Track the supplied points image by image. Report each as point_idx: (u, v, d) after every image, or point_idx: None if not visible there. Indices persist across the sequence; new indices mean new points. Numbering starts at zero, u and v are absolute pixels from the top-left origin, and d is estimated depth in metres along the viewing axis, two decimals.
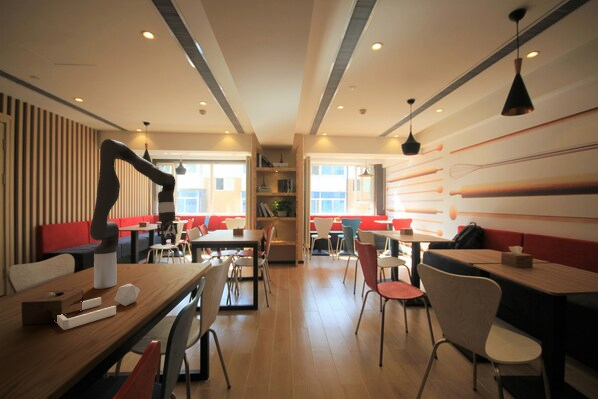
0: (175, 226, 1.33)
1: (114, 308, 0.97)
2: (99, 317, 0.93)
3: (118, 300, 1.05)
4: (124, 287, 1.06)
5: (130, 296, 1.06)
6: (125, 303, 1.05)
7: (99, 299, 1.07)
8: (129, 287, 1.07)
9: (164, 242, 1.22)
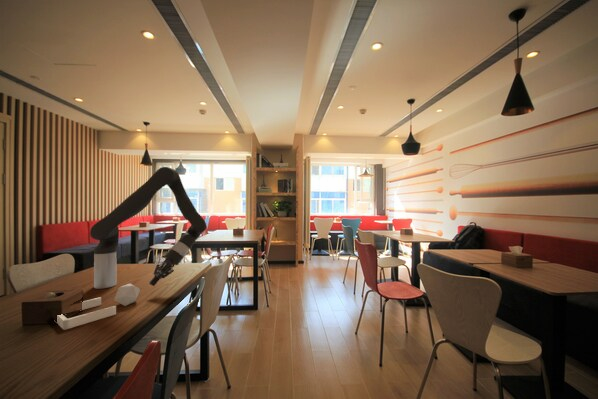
0: None
1: (114, 308, 0.97)
2: (99, 317, 0.93)
3: (118, 300, 1.05)
4: (124, 287, 1.06)
5: (130, 296, 1.06)
6: (125, 303, 1.05)
7: (99, 299, 1.07)
8: (129, 287, 1.07)
9: (155, 283, 1.17)
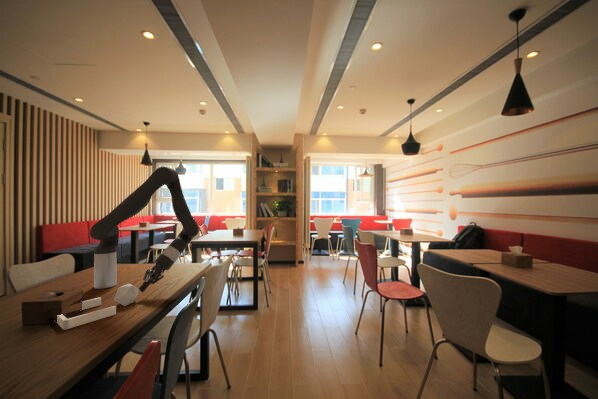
0: None
1: (114, 308, 0.97)
2: (99, 317, 0.93)
3: (118, 300, 1.05)
4: (124, 287, 1.06)
5: (130, 296, 1.06)
6: (125, 303, 1.05)
7: (99, 299, 1.07)
8: (129, 287, 1.07)
9: (144, 289, 1.13)
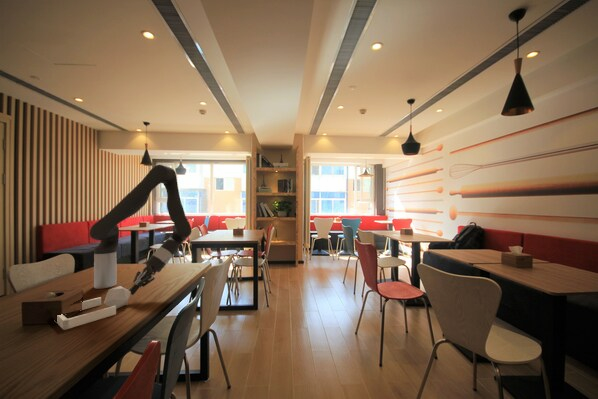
0: None
1: (114, 308, 0.97)
2: (99, 317, 0.93)
3: (107, 303, 1.01)
4: (114, 290, 1.03)
5: (120, 299, 1.02)
6: None
7: (99, 299, 1.07)
8: (119, 290, 1.03)
9: (134, 292, 1.10)
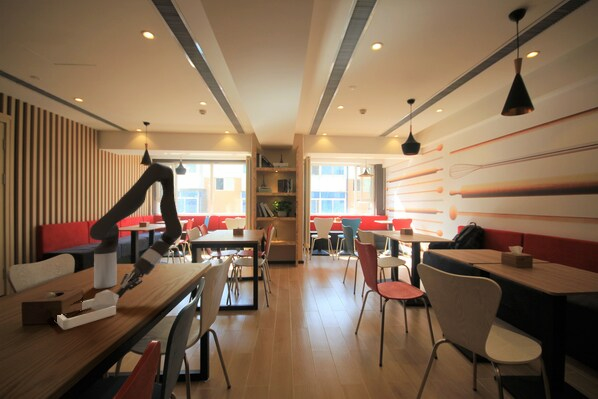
0: None
1: (114, 308, 0.97)
2: (99, 317, 0.93)
3: (95, 308, 0.97)
4: (102, 294, 0.99)
5: (109, 303, 0.98)
6: None
7: None
8: (107, 293, 0.99)
9: (121, 295, 1.06)
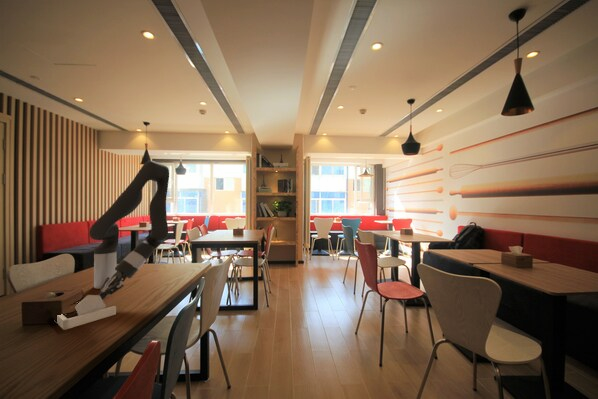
0: None
1: (114, 308, 0.97)
2: (99, 317, 0.93)
3: None
4: (90, 299, 0.93)
5: (101, 306, 0.95)
6: None
7: None
8: (96, 298, 0.95)
9: None
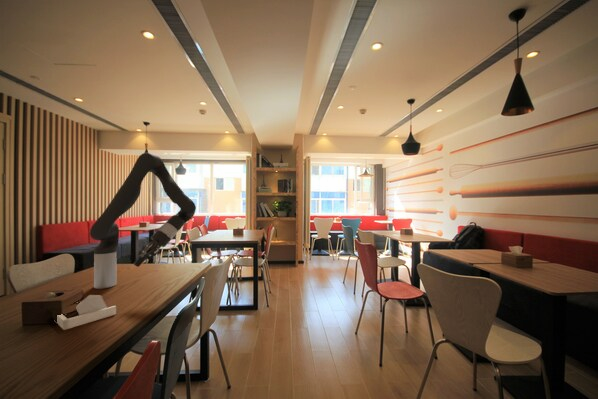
0: None
1: (114, 308, 0.97)
2: (99, 317, 0.93)
3: None
4: (91, 299, 0.94)
5: (101, 306, 0.95)
6: None
7: None
8: (97, 297, 0.95)
9: (140, 264, 1.12)
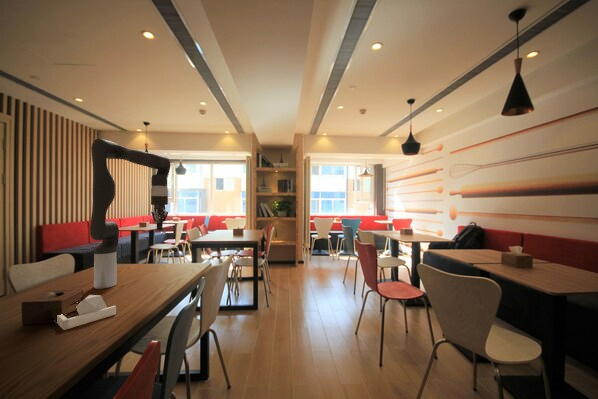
0: None
1: (114, 308, 0.97)
2: (99, 317, 0.93)
3: None
4: (91, 299, 0.94)
5: (101, 306, 0.95)
6: None
7: None
8: (97, 297, 0.95)
9: (162, 227, 1.27)
